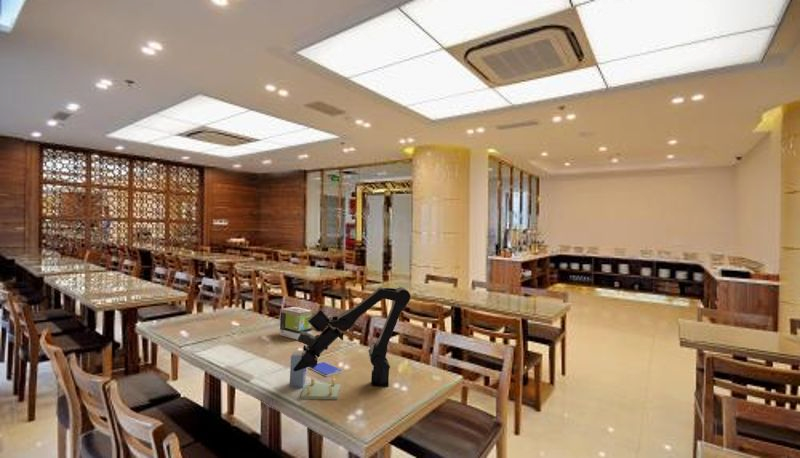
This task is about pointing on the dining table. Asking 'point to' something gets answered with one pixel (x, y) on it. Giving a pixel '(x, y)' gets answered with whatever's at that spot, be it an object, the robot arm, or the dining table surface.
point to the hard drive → (325, 369)
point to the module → (297, 376)
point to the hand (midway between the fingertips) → (294, 367)
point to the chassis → (320, 390)
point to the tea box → (295, 322)
